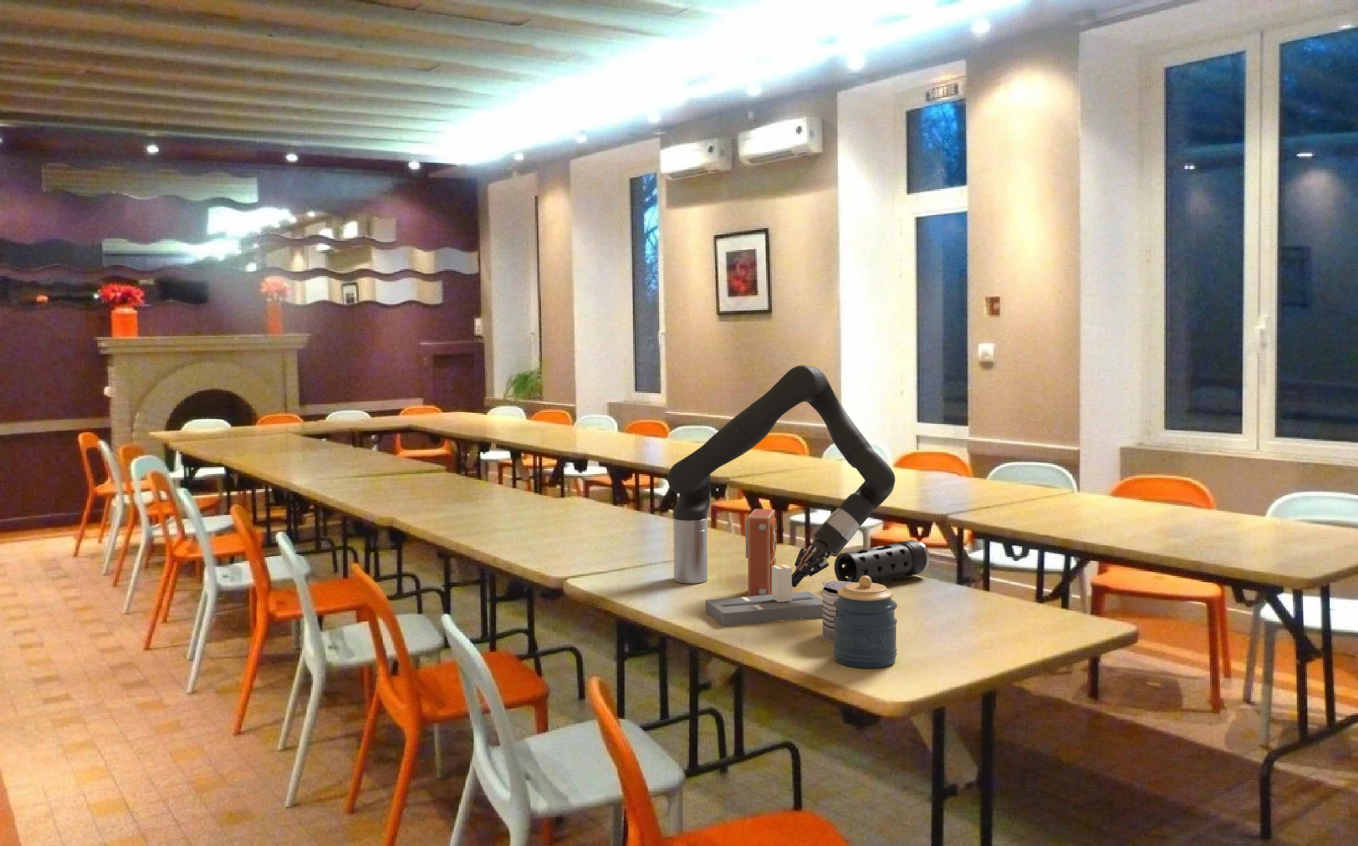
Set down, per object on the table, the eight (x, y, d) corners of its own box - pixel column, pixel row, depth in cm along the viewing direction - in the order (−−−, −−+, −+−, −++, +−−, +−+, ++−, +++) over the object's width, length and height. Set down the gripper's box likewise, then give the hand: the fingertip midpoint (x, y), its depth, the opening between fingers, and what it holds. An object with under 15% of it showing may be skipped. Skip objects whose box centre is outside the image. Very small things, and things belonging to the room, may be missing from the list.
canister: (838, 648, 233) (838, 567, 231) (899, 653, 229) (900, 570, 227) (828, 666, 220) (828, 581, 219) (893, 671, 217) (894, 584, 215)
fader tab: (771, 598, 263) (771, 565, 263) (785, 596, 264) (785, 563, 264) (778, 602, 259) (778, 568, 259) (791, 600, 260) (791, 567, 260)
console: (705, 612, 263) (705, 599, 263) (808, 603, 271) (808, 590, 271) (723, 626, 251) (723, 613, 251) (830, 616, 259) (830, 603, 259)
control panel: (778, 589, 286) (771, 603, 272) (751, 587, 288) (743, 601, 273) (778, 508, 285) (771, 518, 270) (751, 507, 286) (743, 517, 271)
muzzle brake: (833, 587, 288) (833, 549, 287) (905, 573, 304) (906, 536, 304) (858, 594, 280) (859, 554, 279) (932, 579, 297) (932, 541, 296)
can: (819, 630, 247) (819, 578, 246) (869, 630, 247) (870, 578, 246) (824, 644, 236) (825, 590, 234) (877, 644, 235) (878, 590, 234)
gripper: (815, 516, 270) (769, 569, 268) (838, 525, 258) (791, 580, 255) (834, 536, 272) (789, 588, 270) (859, 546, 260) (811, 601, 257)
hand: (790, 584), depth 262 cm, fingers closed
